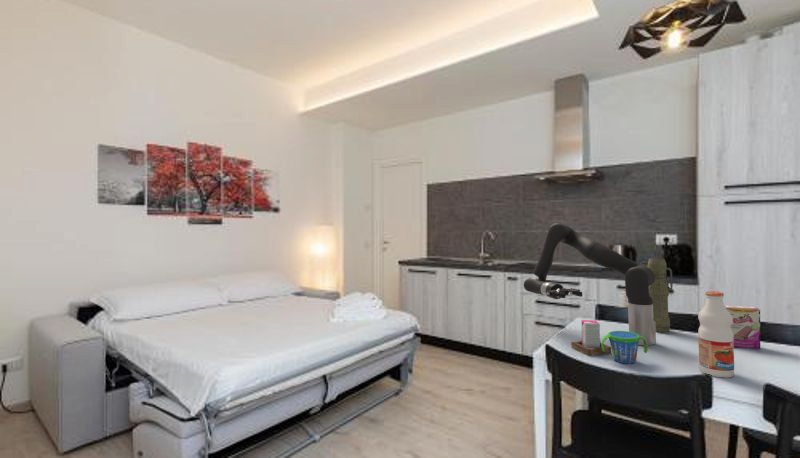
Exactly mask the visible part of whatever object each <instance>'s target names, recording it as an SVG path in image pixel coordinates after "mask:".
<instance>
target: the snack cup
mask: <svg viewBox="0 0 800 458" xmlns="http://www.w3.org/2000/svg"><path fill="white" fill-rule="evenodd" d="M607 339H608V340H609V343H610V347H611V354H612V357H613V360H614V361H616V362H619V363H621V364H634V363H636V361H637V357H638V352H639V351H638V349H639V345H638V343H639V340H640V339H642V340H643V342H644V345H643V353H646V354H647V352H648V350H649V349H648V346H649V345H647V343H646V341H645V339H644V338H642V337H641V336H639V335H638V334H636V333H633V332H629V331H627V330H626V331H624V330H612V331H609V332H608V333H607V334H606V335H604V336H603V338H602V340H601V342H600V343H601V347H602V350H603V351H604V352H605V350H604V344H605V341H606V340H607Z"/></svg>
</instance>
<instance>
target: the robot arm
mask: <svg viewBox="0 0 800 458" xmlns="http://www.w3.org/2000/svg"><path fill="white" fill-rule="evenodd" d="M559 243H563V244H566V245H568V246H571V248H574V249H576V251H578V252H579V253H580V254H581V255H582V256H583V257H584V258H586V259H587V260H589V261H590V262H593V263H594V264H596V265H598V266H601V267H603V268H608V269H611V270H613V271H616V272H619V273H620V274H623V275H624V284H625V285H624V286H625V287H624V288H625V295H626V298H627V308H628V309H627V310H628V313H627V316H628V332H633V333H636V334H638V335H639V336H641V337H642V338H644V339H645V341H646V343H647V346H653V345H655V344H657V332H656V322H655V321H653V298H652V297H651V296H650V295H649V286H650V285H651V284H653V283H654V282H655V279H656V277H655V274H654V272H653V271H652V270H651V269H650V268H648V266H647V265H643V264H641V263H639V262H637V261H635V260H631V259H629V258H627V257H626V256H623V255H622V254H620V253H618V252H617V251H615V250H613V249H611V248H610V247H608V246H606V245H605V244H602V243H601V242H599V241H596V240H594V239H591V238H589V237H587V236H584V235H582V234H580V233H579V232H577V231H576V230H574V229H573V228H572V227H570V226H569V225H566V224H563V223H560V222H559V223H558V222H555V223H553V224H552V225H550V226H549V228H548V231H547V234H546V238H545V241H544V245H543V247H542V251H541V253H540V255H539V258H538V261H537V263H536V265H535V267H534V269H533V272H532V273H533V275H535V276H536V277H538V278H537V279H535V278H532V277H529V278H527V279H525V280H524V282H523V288H524V290H525V291H527V292H530V293H533V294H536V295H541V296H543V297H546V298H549V299H553V300H560V299H566V297H574V296H576V297H579V298H580V297H583V292H582V291H581V289H577V288H572V287H571V288H567V287H564V286H563V285H562V284H560V283H557V282H551V281H547V278H548V277H547V276H548V274H549V272H550V270H551V268H552V265H553V262H554V254H555V251H556V248H557V246H558V245H559ZM638 346H644V342H643V340H642V339H640V340H639V343H638Z"/></svg>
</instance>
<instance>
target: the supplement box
mask: <svg viewBox="0 0 800 458" xmlns="http://www.w3.org/2000/svg"><path fill="white" fill-rule="evenodd" d="M600 330H601V325H600V322H598V321H596V320H592V319H591V320H590V319H589V320H588V319H581V341H582V346H585V347H587V348H596V347H600V343H601V338H600V337H601V333H600V332H601V331H600Z"/></svg>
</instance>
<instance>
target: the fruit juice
mask: <svg viewBox="0 0 800 458" xmlns="http://www.w3.org/2000/svg"><path fill="white" fill-rule="evenodd" d="M704 295H705V297H706V299H705V302H704V303H705V304H704V306H703V308H701V310H700V311H699V312H698V317H697V318H698V321H699V324H700V325H699V327H698V330H697V331H698V332H697V337H698V338H697V340H698V367H699V371H700V372H701V373H703V374H705V373H707V374H711V375H712V376H711V375H710V376H711V377H714V378H715V377H717V378H723V379H725V378H727V379H728V378H732V377H734V376H735V347H734V338H733V332H732V330H731V325H732V316H731V314H730V313H729V312H728V311H727V310H726V308H725V306H724V305H725V304H724V301H723V299H724V297H725V296H724V295H725V294H724V292H722V291H714V290H713V291H712V290H707V291H705V294H704ZM707 374H706V375H707Z"/></svg>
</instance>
